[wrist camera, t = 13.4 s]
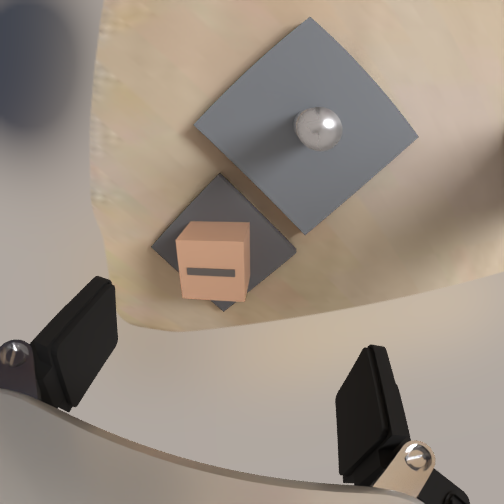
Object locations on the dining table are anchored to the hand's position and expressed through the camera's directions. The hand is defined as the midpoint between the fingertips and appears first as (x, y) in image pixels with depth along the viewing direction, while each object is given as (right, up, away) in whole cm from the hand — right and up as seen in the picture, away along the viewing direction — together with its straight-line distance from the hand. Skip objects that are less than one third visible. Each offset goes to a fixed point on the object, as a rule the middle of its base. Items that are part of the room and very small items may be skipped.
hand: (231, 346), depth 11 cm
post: (+6, +15, +16) cm, 22 cm away
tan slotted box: (-3, +4, +22) cm, 23 cm away
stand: (+6, +15, +17) cm, 24 cm away
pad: (-2, +4, +23) cm, 24 cm away
